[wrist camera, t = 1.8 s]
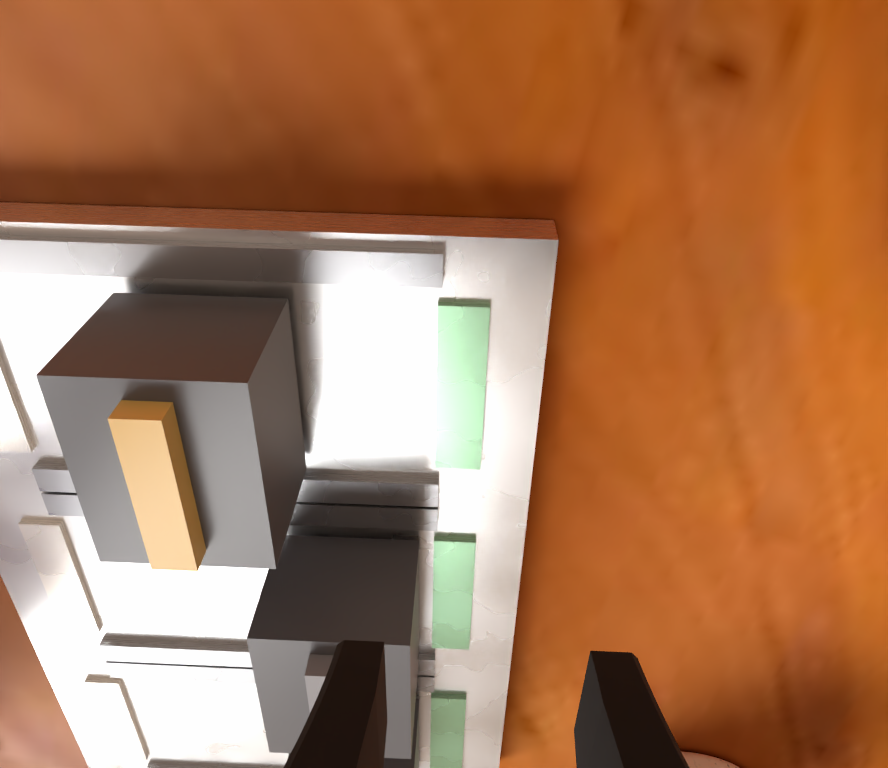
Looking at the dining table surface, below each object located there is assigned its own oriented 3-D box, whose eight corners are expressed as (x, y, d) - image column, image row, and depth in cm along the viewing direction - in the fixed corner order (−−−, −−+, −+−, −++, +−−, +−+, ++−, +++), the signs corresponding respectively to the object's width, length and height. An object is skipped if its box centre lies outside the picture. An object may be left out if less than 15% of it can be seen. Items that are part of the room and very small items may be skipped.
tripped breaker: (156, 462, 19) (88, 582, 16) (113, 292, 17) (19, 392, 13) (306, 468, 19) (269, 590, 16) (288, 298, 16) (238, 401, 13)
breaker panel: (104, 745, 30) (88, 782, 28) (-127, 198, 17) (-175, 220, 16) (495, 763, 29) (496, 801, 28) (553, 220, 17) (559, 245, 16)
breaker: (295, 646, 23) (264, 773, 20) (278, 534, 21) (239, 659, 17) (419, 652, 23) (409, 780, 20) (419, 540, 21) (407, 667, 17)
